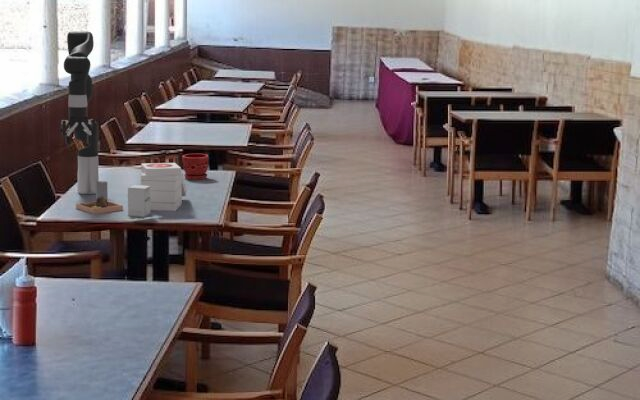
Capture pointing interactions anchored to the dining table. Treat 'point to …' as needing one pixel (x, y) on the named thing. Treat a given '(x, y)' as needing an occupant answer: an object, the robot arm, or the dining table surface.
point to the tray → (110, 208)
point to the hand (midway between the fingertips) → (78, 144)
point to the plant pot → (195, 166)
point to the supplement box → (139, 200)
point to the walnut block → (88, 204)
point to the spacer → (101, 194)
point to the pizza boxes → (164, 185)
